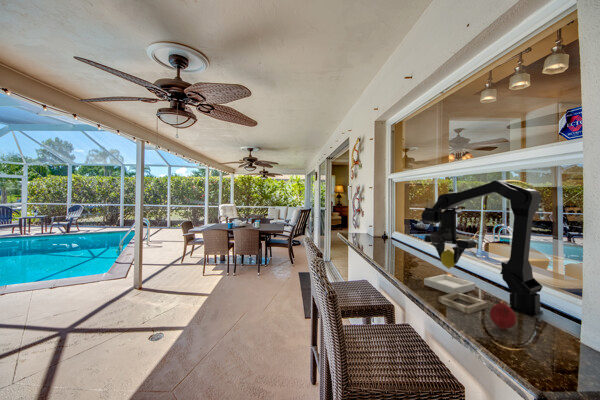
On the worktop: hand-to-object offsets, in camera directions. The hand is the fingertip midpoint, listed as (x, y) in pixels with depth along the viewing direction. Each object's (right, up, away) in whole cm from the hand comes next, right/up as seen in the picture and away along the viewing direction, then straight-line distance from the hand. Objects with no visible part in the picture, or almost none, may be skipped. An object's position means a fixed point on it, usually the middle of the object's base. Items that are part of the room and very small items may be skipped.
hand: (448, 261), depth 102 cm
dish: (0, -11, 0) cm, 11 cm away
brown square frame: (-5, -11, -17) cm, 20 cm away
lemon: (0, -3, 0) cm, 3 cm away
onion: (-4, -11, -33) cm, 35 cm away
